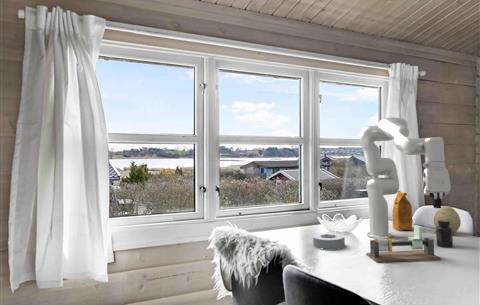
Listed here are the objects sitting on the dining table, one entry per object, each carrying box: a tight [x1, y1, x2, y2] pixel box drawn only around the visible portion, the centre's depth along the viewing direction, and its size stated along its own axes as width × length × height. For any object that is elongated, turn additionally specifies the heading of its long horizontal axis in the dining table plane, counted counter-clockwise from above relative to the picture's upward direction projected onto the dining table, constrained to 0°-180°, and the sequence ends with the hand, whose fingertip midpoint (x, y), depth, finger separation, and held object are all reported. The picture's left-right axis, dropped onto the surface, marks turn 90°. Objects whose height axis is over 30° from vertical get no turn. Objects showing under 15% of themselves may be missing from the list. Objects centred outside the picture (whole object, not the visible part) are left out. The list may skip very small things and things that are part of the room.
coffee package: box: [392, 190, 414, 232], centre depth 214 cm, size 10×12×22 cm
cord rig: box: [365, 237, 442, 264], centre depth 158 cm, size 12×27×9 cm, turn 92°
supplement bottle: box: [435, 220, 454, 248], centre depth 174 cm, size 7×7×12 cm
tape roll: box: [312, 232, 346, 250], centre depth 182 cm, size 15×15×5 cm
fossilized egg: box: [433, 205, 462, 234], centre depth 198 cm, size 13×13×15 cm
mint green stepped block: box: [407, 224, 424, 250], centre depth 158 cm, size 4×4×9 cm
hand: (437, 207), depth 158 cm, fingers closed
